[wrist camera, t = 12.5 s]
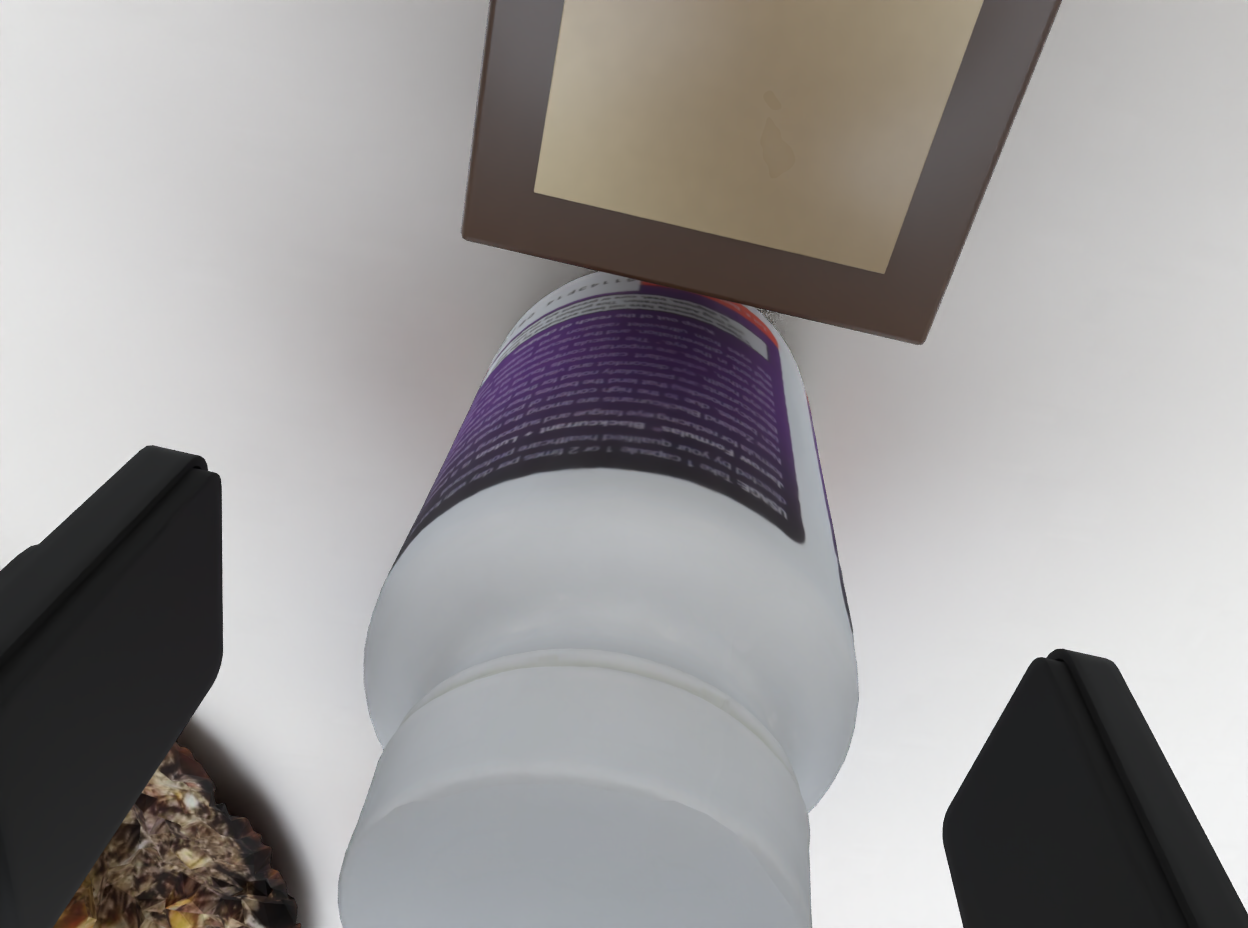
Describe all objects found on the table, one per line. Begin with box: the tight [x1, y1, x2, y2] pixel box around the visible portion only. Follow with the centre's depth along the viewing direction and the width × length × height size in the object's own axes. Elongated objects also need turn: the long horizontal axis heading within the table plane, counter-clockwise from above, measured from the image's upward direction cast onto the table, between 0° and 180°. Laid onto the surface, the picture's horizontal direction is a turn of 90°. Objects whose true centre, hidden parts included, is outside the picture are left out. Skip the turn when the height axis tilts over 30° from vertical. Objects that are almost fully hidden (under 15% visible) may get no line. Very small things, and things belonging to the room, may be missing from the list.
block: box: [461, 0, 1062, 345], centre depth 11 cm, size 5×5×5 cm
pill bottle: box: [338, 271, 859, 928], centre depth 12 cm, size 5×5×10 cm
